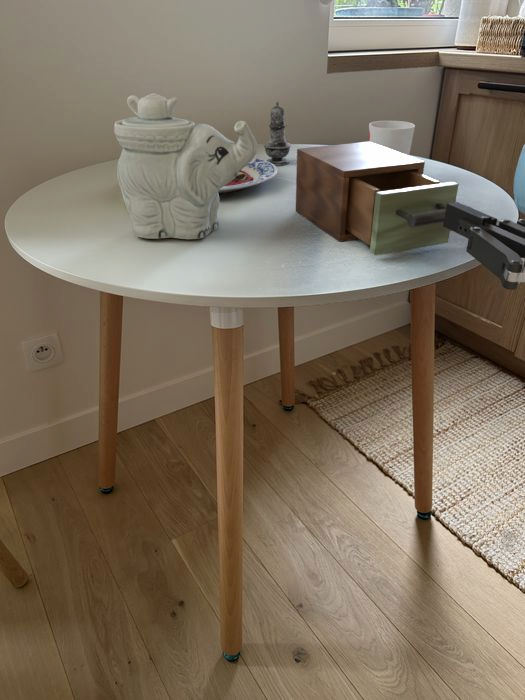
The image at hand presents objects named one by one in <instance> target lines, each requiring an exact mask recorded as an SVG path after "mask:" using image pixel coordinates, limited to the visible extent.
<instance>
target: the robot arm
mask: <svg viewBox="0 0 525 700" xmlns="http://www.w3.org/2000/svg"><path fill="white" fill-rule="evenodd" d="M512 190H513V191H512V192H513V196H514V197H513V198H514V199H513V202H514V205H515V207H516V209H517V210H518V211H519V212H520V213H521V214H523V215H525V144H524V145H523V146H522V150H521V152H520V154H519V158H518V162H517V164H516V168H515V173H514V178H513V189H512ZM443 226H444V227H446V228H448V229H450V231H452V232H453V233H455V234H458V235H460V236H462V237H464V238H466V239H467V244H466V250H465V252H466V253H468V254H469V255H470V256H471V257H473V258H474V259H475V260H476V261H477V262H478V263H480V264H481V265H482V266H483V267H484V268H486V269H487V270H488V271H490V273H492V274H493V275H494V276H496V277H497V278H499V280H500V283H501V286H502V287H503V288H504V289H506V290H510V291H514V290H516V289H517V288H518V285H521V283H525V218H519V219H517V220H516V222H515V221H511V220H510V219H506V218H505V219H500V220H498V218H496V217H494V216H491V215H489V214H487V213H484V212H482V211H479V210H477V209H475V208H473V207H470V206H468V205H466V204H464V203H461V202H459V201H456V202H454V203H447V206H446V212H445V217H444V223H443Z"/></svg>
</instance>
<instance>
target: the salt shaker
mask: <svg viewBox="0 0 525 700" xmlns="http://www.w3.org/2000/svg"><path fill="white" fill-rule="evenodd" d="M275 104H276V105H275V106H273V107H272V108H271V109H270V124H268V127H269V133H270V134H269V141H267V142H266V143H264V144H263V147H264V151H265V153H266V155H267V156H268V158H267V159H266V160H265V161H268V162H270V163H272V164H274V165H275V166H276V167H277V166H285V165H289V164H290V163H291V162H290V160H289V159H287V158H286V157H287V156H288V155H289V153H290V151H291V147H292V144H291V143H289V142H287V140H286V135H285V134H286V132H285V131H286V127H287V125H286V124H285V109H284V107H282V106H280V103H279V101H278V100H277V101H276V103H275Z"/></svg>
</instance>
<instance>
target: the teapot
mask: <svg viewBox="0 0 525 700" xmlns="http://www.w3.org/2000/svg"><path fill="white" fill-rule="evenodd" d="M134 102H135V105H136V106H137V108H136V106H135V105H134ZM126 103H127V104H126V105H127V106H128V108H129V109H130V110H131V111H132V112H133V113H134V114H135V115H136V116H131V117H126V118H124V119H119V120H116V121H115V122H114V125H113V126H114V129H113V130H114V134H115V137H116V140H117V142H118V144H119V146H120V147H122V150H121V153H120V156H119V159H118V162H117V166H116V175H117V181H118V184H119V188H120V191H121V195H122V199H123V202H124V205H125V207H126V209H127V211H128V214H129V216H130V221H131V225H132V232H133V234H134V235H135V237H136V236H137V237H139V238H142V239H153V240H156V239H157V240H158V239H168V238H172V239H173V238H174V239H181V240H197V239H202V238H206V237H208V235H209V234H211V232H213V231H214V230H215V231H216V230H217V229H218V228H219V227H220V222H219V218H218V213H219V208H220V195H219V194H220V193H218V190H219V189H220V188H222V187H223V186H225V185H227V184H228V183H229V182H231V181H232V180H233V179H235V177H236V176H237V174H238V172H239V171H240V170H242V169H243V168H244V167H245V166H247V165H248V164H249V163H250V162H251V161H252V159H253V158H256V155H257V152H258V143H257V140H256V138H255V136H254V134H253V133H252V130H251V129H250V127H249V125H248V124H247V122H246V121H245V120H238V121H237V122H236V123H235V124H234V127H233V128H234V129H233V130H234V132H235V133H236V134H237V136H238V140H237V141H236V142H234V141H233V140H230V139H229V138H228V137H226V136H225V135H223V134H222V133H221V132H219V131H218V130H217V129H216V128H214V127H213V126H212V125H209V124H207V123H195V122H194V121H191V120H190V119H183V118H178V117H172V116H173V113H174V110H175V107H176V106H177V103H178V98H177V97H171V98H169V99H167V98H166V97H165V96H163V95H162V96H161V95H160V94H157V93H155V92H152V93H150V94H148V95H145V96H143V97H140V98H139V97H138V96H137V95H133V94H132V95H129V96H128V97H127V99H126Z"/></svg>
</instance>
